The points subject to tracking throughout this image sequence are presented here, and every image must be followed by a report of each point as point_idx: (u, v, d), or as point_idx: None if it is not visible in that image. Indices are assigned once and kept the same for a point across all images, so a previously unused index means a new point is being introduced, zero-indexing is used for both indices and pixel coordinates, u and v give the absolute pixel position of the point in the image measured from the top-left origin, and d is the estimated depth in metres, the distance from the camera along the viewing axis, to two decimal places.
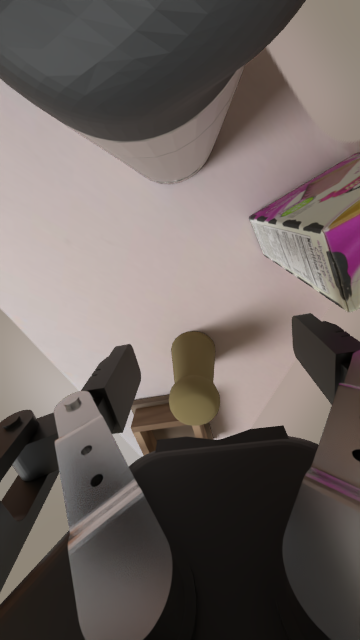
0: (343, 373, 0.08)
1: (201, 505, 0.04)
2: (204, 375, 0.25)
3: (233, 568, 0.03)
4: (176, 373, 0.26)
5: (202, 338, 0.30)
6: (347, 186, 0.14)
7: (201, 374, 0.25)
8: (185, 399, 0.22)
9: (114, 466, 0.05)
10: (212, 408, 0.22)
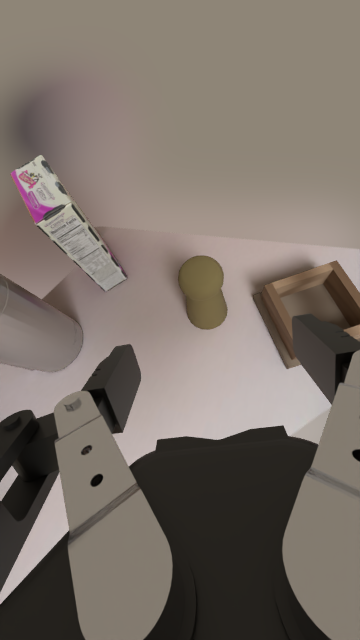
0: (343, 373, 0.08)
1: (201, 505, 0.04)
2: None
3: (233, 567, 0.03)
4: (196, 305, 0.29)
5: None
6: None
7: None
8: (185, 279, 0.26)
9: (114, 466, 0.05)
10: (193, 258, 0.26)
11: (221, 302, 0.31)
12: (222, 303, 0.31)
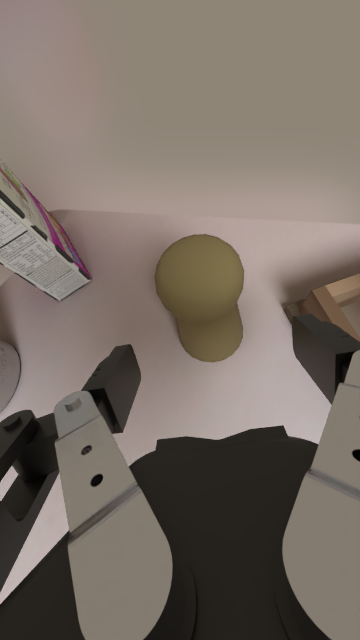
0: (343, 373, 0.08)
1: (201, 506, 0.04)
2: None
3: (233, 566, 0.03)
4: (192, 328, 0.16)
5: None
6: None
7: None
8: (167, 281, 0.12)
9: (114, 466, 0.05)
10: (184, 240, 0.13)
11: (236, 321, 0.17)
12: (237, 322, 0.18)
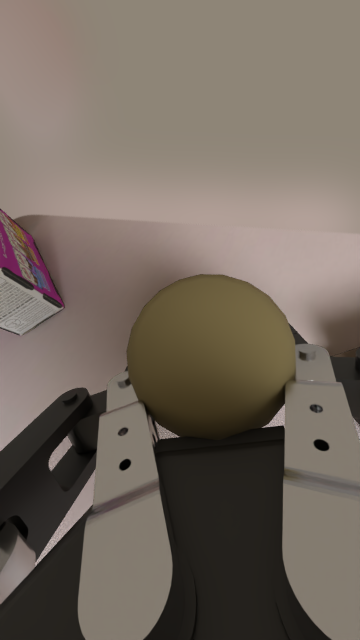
0: None
1: (201, 505, 0.04)
2: None
3: (233, 567, 0.03)
4: None
5: None
6: None
7: None
8: (147, 375, 0.06)
9: (142, 455, 0.05)
10: (181, 287, 0.07)
11: None
12: None
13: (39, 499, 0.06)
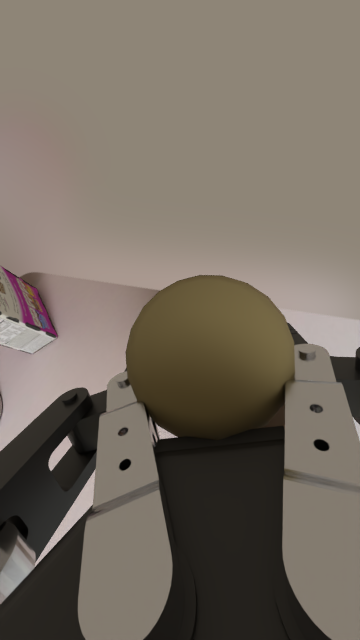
0: None
1: (201, 505, 0.04)
2: None
3: (233, 567, 0.03)
4: None
5: None
6: None
7: None
8: (145, 377, 0.06)
9: (142, 456, 0.05)
10: (180, 288, 0.07)
11: None
12: None
13: (39, 499, 0.06)
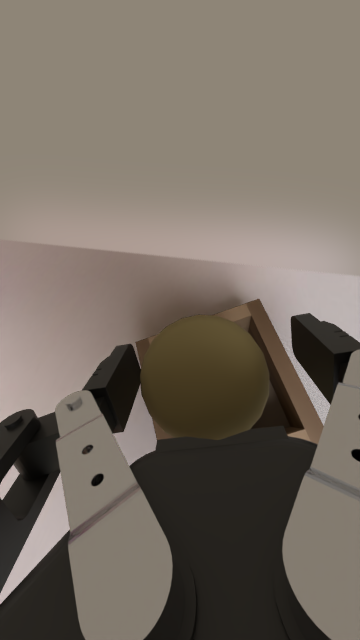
0: (342, 373, 0.08)
1: (201, 505, 0.04)
2: None
3: (233, 566, 0.03)
4: None
5: None
6: None
7: None
8: (156, 396, 0.08)
9: (115, 466, 0.05)
10: (183, 327, 0.09)
11: None
12: None
13: None
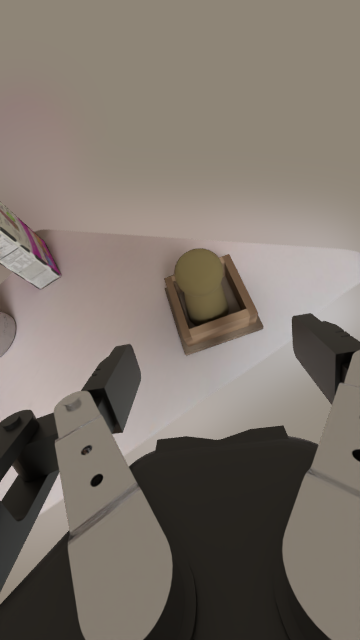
0: (343, 373, 0.08)
1: (201, 505, 0.04)
2: None
3: (233, 567, 0.03)
4: (194, 302, 0.27)
5: None
6: None
7: None
8: (182, 273, 0.24)
9: (114, 466, 0.05)
10: (190, 252, 0.25)
11: (221, 299, 0.29)
12: (223, 300, 0.29)
13: None
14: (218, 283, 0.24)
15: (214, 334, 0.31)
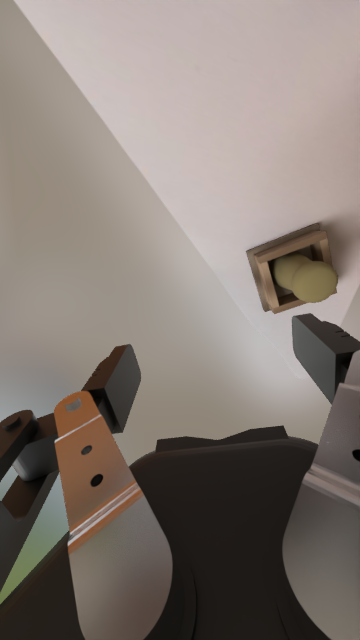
0: (343, 373, 0.08)
1: (201, 505, 0.04)
2: None
3: (233, 567, 0.03)
4: (288, 272, 0.32)
5: (298, 252, 0.36)
6: None
7: None
8: (312, 273, 0.28)
9: (114, 466, 0.05)
10: (334, 279, 0.28)
11: (290, 289, 0.35)
12: None
13: None
14: (299, 298, 0.31)
15: (261, 278, 0.38)
